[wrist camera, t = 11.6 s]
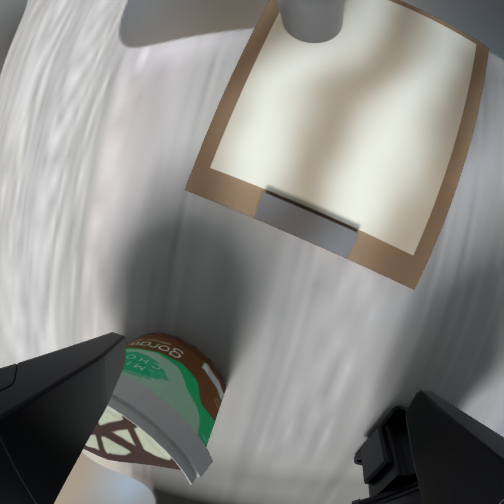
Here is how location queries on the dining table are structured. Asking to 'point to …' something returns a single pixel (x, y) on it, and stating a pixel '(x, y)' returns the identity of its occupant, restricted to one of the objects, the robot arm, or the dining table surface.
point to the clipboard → (348, 133)
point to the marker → (312, 19)
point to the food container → (161, 407)
